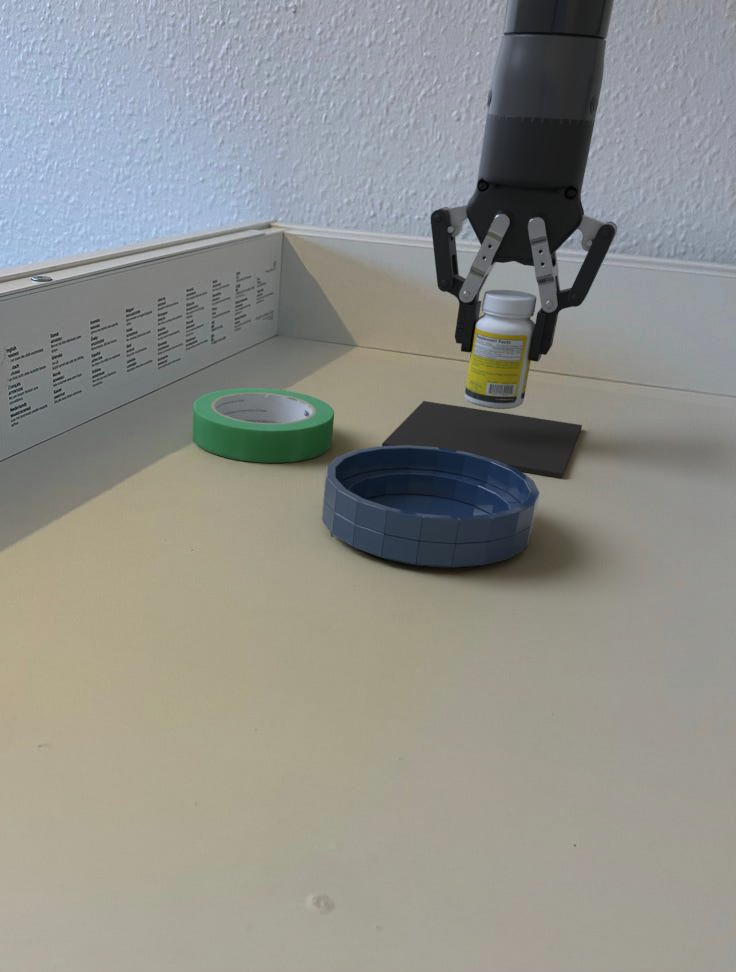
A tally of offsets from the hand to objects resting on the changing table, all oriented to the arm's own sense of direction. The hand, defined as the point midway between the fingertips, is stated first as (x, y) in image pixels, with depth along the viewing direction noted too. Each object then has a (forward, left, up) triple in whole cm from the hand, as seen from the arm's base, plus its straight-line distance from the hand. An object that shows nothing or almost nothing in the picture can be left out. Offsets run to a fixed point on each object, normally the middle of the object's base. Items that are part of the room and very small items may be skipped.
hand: (500, 353), depth 78 cm
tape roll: (+16, +10, -7) cm, 20 cm away
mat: (0, 0, -7) cm, 7 cm away
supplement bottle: (0, 0, -4) cm, 4 cm away
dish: (0, +22, -7) cm, 23 cm away
